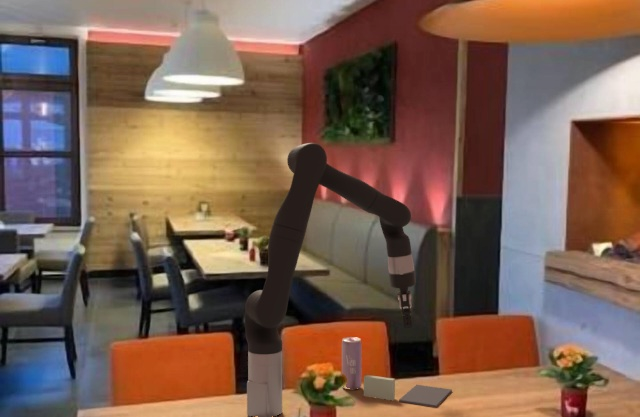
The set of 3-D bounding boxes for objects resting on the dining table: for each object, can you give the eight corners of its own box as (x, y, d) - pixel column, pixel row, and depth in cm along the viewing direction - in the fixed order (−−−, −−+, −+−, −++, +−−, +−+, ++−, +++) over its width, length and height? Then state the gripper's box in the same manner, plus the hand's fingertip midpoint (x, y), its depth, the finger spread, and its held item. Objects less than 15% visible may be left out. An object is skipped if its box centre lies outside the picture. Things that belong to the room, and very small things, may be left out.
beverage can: (361, 385, 207) (361, 337, 206) (360, 391, 201) (360, 341, 200) (342, 384, 207) (342, 336, 207) (341, 390, 201) (341, 341, 201)
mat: (436, 407, 186) (436, 405, 186) (399, 401, 191) (399, 399, 191) (451, 391, 200) (451, 389, 200) (416, 386, 205) (416, 384, 205)
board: (392, 401, 192) (392, 380, 192) (363, 396, 196) (363, 376, 196) (394, 399, 194) (394, 378, 193) (366, 394, 198) (366, 374, 197)
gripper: (389, 267, 204) (395, 318, 205) (388, 276, 190) (395, 331, 191) (413, 264, 203) (419, 316, 204) (414, 273, 189) (421, 329, 190)
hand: (407, 323), depth 198 cm, fingers open, 8 cm apart
